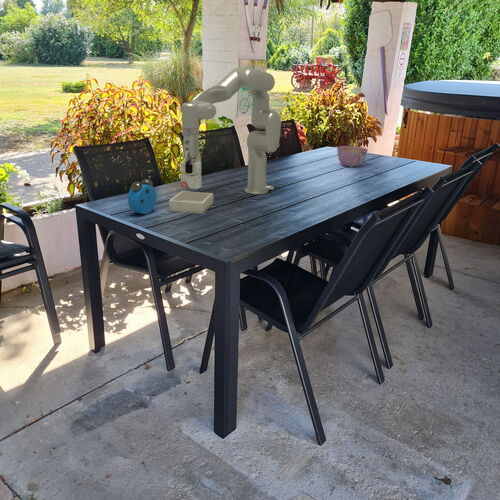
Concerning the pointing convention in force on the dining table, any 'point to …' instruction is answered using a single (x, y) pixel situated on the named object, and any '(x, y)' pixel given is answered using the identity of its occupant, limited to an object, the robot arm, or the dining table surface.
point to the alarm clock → (142, 197)
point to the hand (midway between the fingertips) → (191, 171)
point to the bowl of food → (351, 155)
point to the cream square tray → (191, 202)
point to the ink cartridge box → (191, 174)
